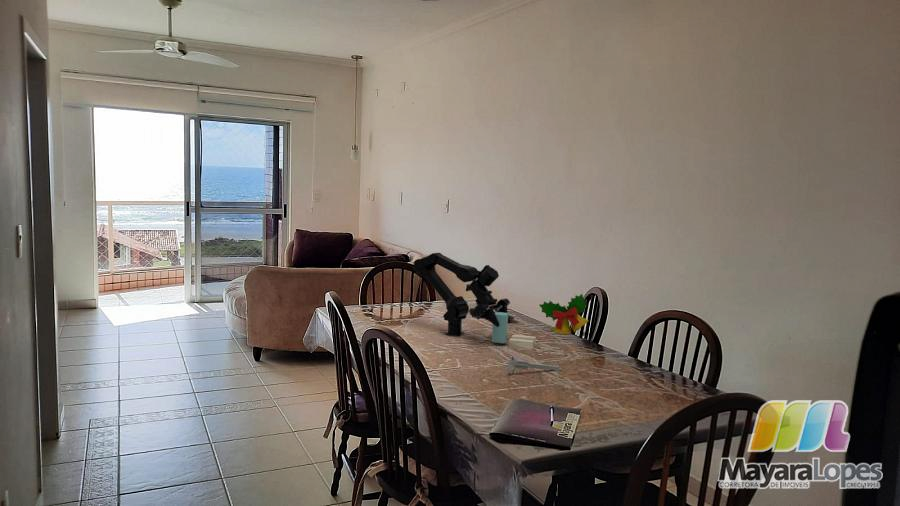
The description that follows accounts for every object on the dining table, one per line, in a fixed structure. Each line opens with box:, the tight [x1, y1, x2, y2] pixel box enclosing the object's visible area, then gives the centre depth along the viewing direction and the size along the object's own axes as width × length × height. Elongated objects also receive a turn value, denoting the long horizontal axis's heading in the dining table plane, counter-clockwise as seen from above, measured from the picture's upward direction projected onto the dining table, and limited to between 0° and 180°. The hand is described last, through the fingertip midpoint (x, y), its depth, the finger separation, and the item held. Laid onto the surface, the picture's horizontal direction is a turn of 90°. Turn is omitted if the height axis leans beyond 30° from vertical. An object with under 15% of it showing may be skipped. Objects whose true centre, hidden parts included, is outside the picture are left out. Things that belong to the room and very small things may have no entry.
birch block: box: [508, 334, 537, 351], centre depth 247 cm, size 9×9×4 cm
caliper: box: [507, 355, 564, 375], centre depth 214 cm, size 21×1×6 cm, turn 111°
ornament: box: [538, 293, 589, 335], centre depth 271 cm, size 22×9×16 cm, turn 62°
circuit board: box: [483, 311, 519, 324], centre depth 297 cm, size 25×14×3 cm, turn 25°
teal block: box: [491, 311, 509, 344], centre depth 248 cm, size 5×5×11 cm
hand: (503, 325), depth 247 cm, fingers closed on teal block, 6 cm apart
